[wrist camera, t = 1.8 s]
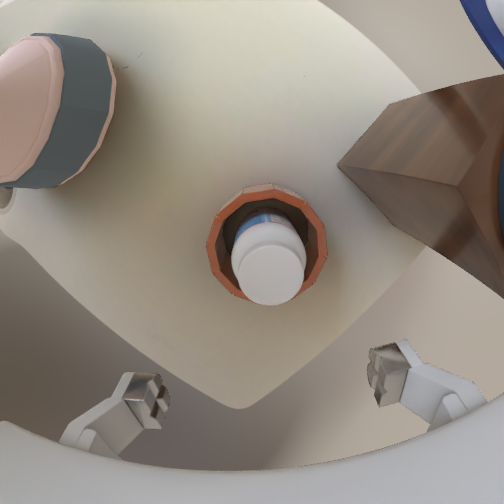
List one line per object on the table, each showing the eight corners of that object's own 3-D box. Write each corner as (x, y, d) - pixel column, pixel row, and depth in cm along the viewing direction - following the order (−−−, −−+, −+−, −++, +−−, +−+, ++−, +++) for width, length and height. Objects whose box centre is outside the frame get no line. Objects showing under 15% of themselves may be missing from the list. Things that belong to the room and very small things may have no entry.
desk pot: (308, 177, 28) (320, 182, 23) (318, 271, 31) (329, 294, 26) (207, 193, 29) (196, 201, 23) (226, 285, 32) (221, 310, 27)
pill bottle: (242, 264, 31) (234, 319, 20) (233, 210, 29) (219, 241, 18) (296, 256, 31) (316, 309, 20) (290, 202, 29) (310, 229, 18)
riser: (441, 167, 27) (570, 197, 8) (394, 226, 29) (513, 306, 11) (389, 104, 25) (521, 70, 6) (336, 165, 27) (456, 186, 9)
